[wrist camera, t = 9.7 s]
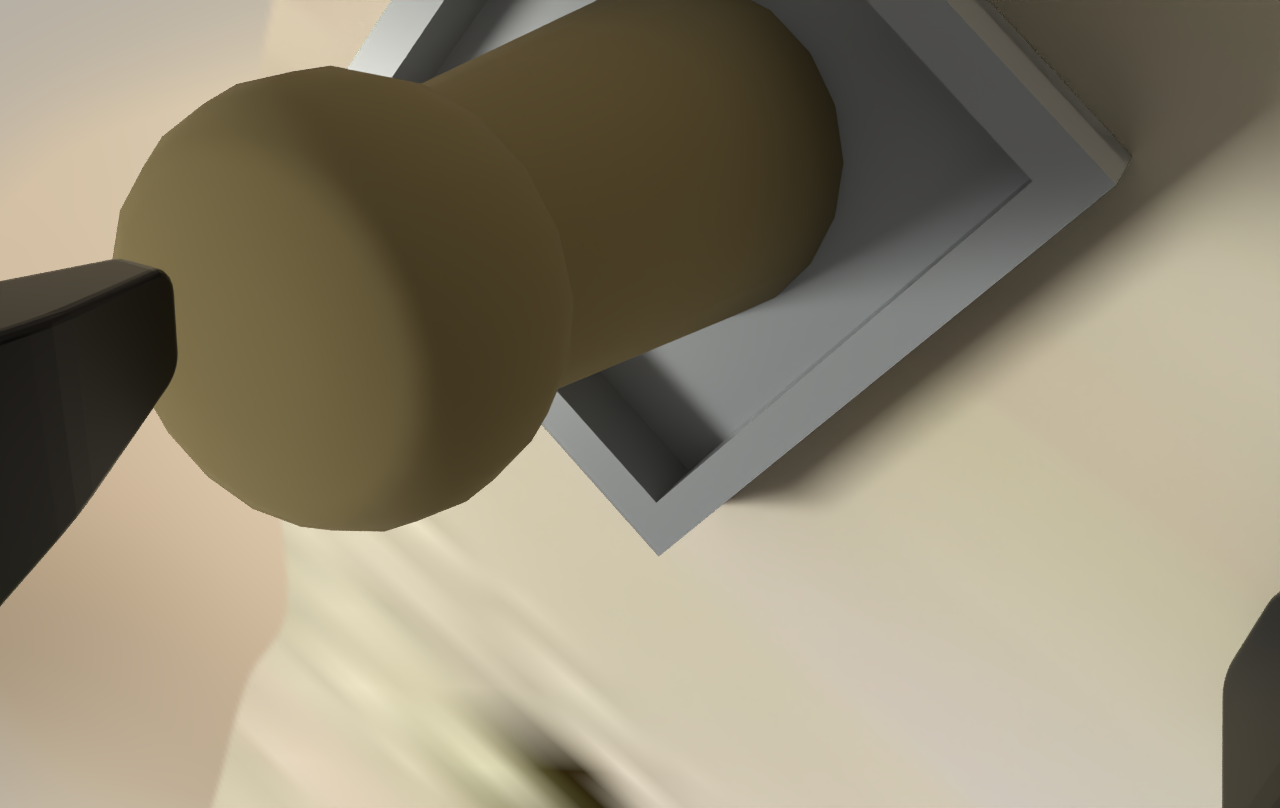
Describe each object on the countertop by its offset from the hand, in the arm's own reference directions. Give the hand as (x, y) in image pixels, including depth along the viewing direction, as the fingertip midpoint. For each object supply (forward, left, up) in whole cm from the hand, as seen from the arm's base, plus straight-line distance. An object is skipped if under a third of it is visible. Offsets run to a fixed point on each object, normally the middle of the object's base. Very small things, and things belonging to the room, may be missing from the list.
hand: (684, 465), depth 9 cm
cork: (+4, +4, -12) cm, 13 cm away
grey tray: (+4, +3, -12) cm, 14 cm away
